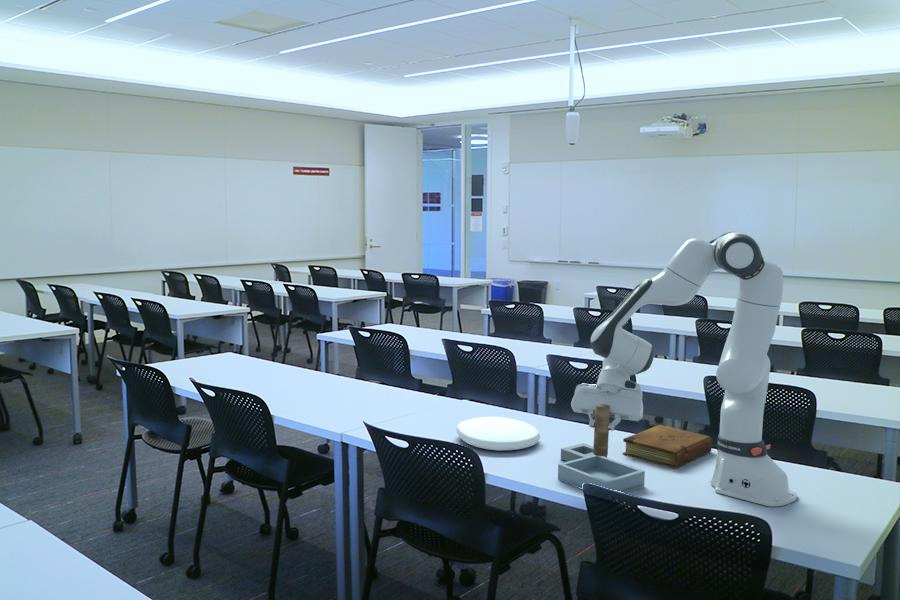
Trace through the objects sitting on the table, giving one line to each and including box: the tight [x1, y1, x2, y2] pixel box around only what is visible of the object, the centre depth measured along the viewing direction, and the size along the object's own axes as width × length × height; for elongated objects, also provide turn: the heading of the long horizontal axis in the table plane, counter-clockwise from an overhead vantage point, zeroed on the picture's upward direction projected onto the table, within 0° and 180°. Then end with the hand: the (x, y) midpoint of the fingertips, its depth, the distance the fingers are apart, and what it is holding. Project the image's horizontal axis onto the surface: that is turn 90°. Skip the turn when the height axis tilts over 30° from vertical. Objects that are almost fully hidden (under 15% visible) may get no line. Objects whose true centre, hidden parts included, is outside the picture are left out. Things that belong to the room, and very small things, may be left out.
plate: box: [455, 416, 541, 452], centre depth 246 cm, size 28×6×27 cm
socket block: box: [560, 442, 608, 462], centre depth 227 cm, size 10×10×4 cm
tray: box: [557, 455, 646, 494], centre depth 208 cm, size 18×16×4 cm
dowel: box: [593, 404, 611, 457], centre depth 207 cm, size 4×4×14 cm
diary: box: [622, 424, 713, 469], centre depth 235 cm, size 23×19×6 cm
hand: (601, 428), depth 206 cm, fingers closed on dowel, 4 cm apart
